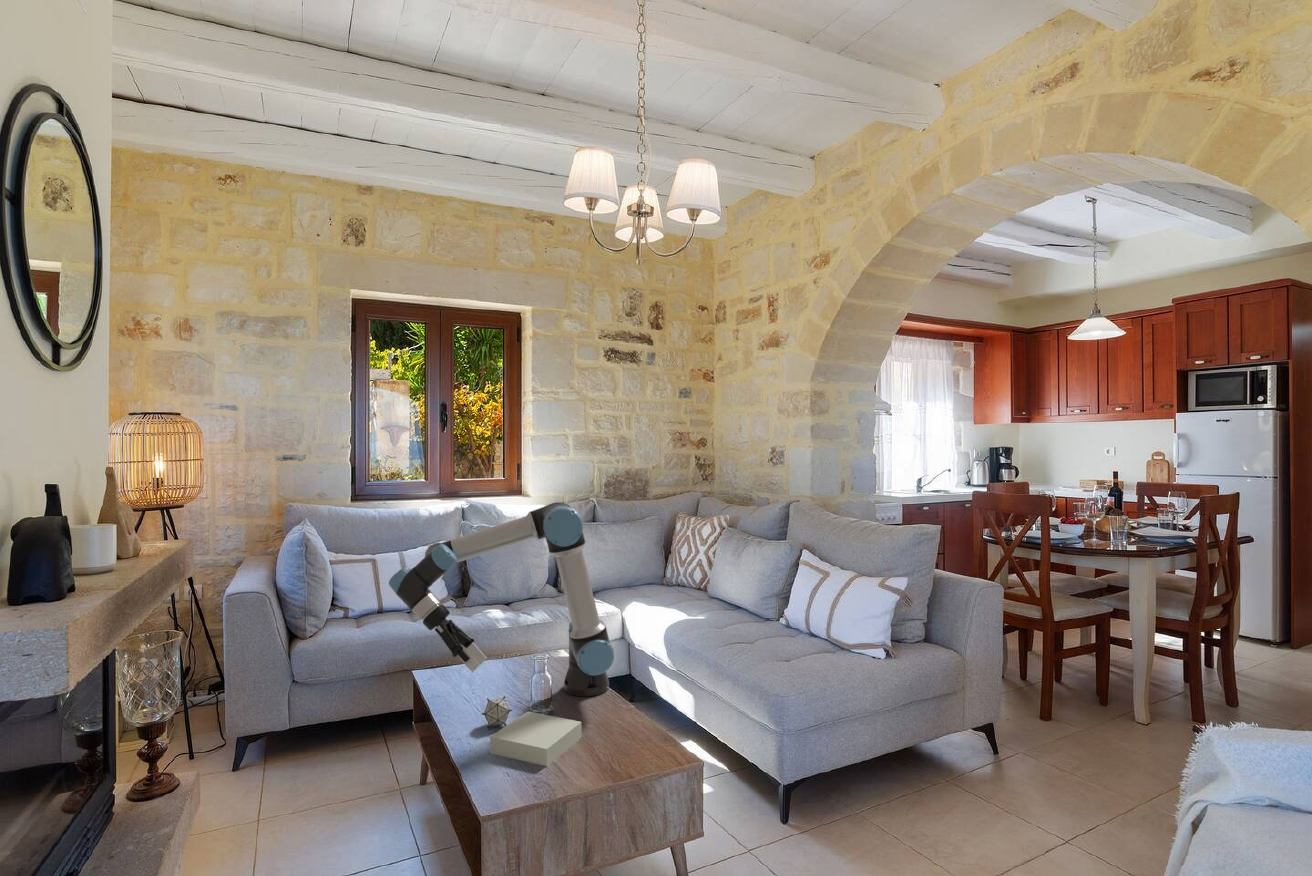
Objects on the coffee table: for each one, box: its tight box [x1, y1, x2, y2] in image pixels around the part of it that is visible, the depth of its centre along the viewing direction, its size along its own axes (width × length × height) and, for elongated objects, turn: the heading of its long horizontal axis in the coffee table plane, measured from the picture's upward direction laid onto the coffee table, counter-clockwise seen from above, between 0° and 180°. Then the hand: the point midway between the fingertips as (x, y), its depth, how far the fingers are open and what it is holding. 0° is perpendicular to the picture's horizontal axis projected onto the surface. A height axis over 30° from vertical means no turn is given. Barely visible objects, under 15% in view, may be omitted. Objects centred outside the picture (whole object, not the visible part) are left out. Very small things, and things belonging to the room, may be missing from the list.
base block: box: [489, 711, 583, 767], centre depth 194 cm, size 18×18×5 cm
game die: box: [481, 696, 513, 729], centre depth 206 cm, size 9×8×10 cm
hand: (480, 665), depth 206 cm, fingers open, 13 cm apart
